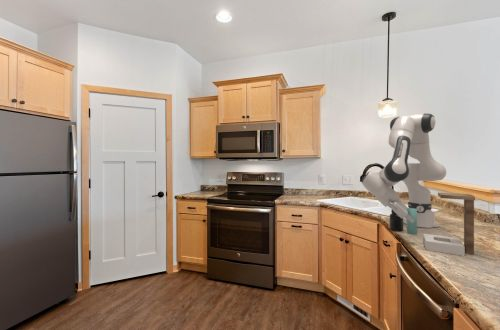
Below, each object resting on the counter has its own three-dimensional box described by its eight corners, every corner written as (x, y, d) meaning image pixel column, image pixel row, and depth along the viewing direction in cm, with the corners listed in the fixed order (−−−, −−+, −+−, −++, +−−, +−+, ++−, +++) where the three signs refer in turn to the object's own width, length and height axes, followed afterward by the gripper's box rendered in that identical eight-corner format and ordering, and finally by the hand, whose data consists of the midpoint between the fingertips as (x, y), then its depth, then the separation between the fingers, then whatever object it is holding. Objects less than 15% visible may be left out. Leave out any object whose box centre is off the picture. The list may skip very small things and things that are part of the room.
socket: (423, 241, 115) (423, 233, 115) (458, 246, 108) (458, 238, 108) (425, 249, 104) (425, 240, 104) (464, 256, 97) (464, 246, 97)
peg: (406, 231, 115) (406, 207, 115) (416, 233, 113) (416, 208, 112) (406, 233, 111) (406, 209, 111) (417, 235, 109) (417, 210, 109)
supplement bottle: (398, 228, 138) (398, 208, 138) (406, 231, 131) (406, 210, 131) (387, 228, 138) (387, 208, 138) (394, 231, 131) (394, 210, 131)
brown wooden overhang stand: (437, 244, 110) (437, 192, 110) (469, 249, 104) (469, 194, 104) (441, 251, 102) (440, 194, 102) (475, 256, 96) (475, 196, 96)
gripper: (394, 197, 107) (420, 221, 102) (395, 192, 124) (417, 212, 119) (383, 205, 109) (408, 229, 104) (385, 200, 127) (407, 220, 121)
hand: (413, 220), depth 112 cm, fingers closed on peg, 4 cm apart
